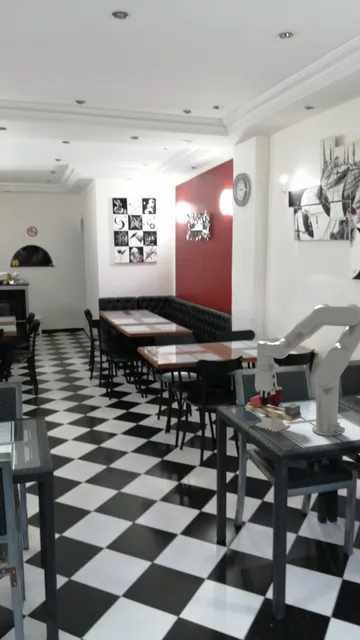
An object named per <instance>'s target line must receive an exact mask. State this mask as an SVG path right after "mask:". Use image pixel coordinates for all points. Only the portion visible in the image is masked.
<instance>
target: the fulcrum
mask: <svg viewBox="0 0 360 640" xmlns="http://www.w3.org/2000/svg"><path fill="white" fill-rule="evenodd" d="M254 425H256V426H259V427H258V428H260V427H262V428H261V429H263V428H265V429H264V430H267V429H269V430H268V431H270V430H272V431H271V432H274V431H275V432H274V433H278V432H280V431H282V429H283V430H284V429H287V428H289V427H291V424H290V423H286V422H284V420H282V419H278V418H274V417H270V416H269V417H266V415H262V416H261V422H257V423H255V424H254ZM256 426H255V427H256ZM277 431H278V432H277Z"/></svg>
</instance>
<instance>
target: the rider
mask: <svg viewBox="0 0 360 640" xmlns="http://www.w3.org/2000/svg"><path fill="white" fill-rule="evenodd" d="M249 400H250V402H251V403H252V406H253V407H257V408H258V407H262V406H264V405H262V397H261V394H259V395H255V396H254V397H251V398H250V399H249Z"/></svg>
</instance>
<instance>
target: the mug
mask: <svg viewBox="0 0 360 640" xmlns="http://www.w3.org/2000/svg"><path fill="white" fill-rule="evenodd" d="M282 396H283V387H281V386H278V385H277V390H275V394H273V395H270V397H269V404H268V405H271V406H275V407H279V405H280V404H281V401H282V398H283V397H282Z"/></svg>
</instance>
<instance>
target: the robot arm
mask: <svg viewBox="0 0 360 640" xmlns="http://www.w3.org/2000/svg"><path fill="white" fill-rule="evenodd" d="M325 326H329V327H344V328H343V331H342V332H341V334H340V335H339V338H338V339H337V340H336V342H335V344H333V345H332V346H331V348H329V350H328V352H327V353H326V355H325V357H324V358H323V360H322V361H321V362H320V364H319V365H318V368H317V369H316V371H315V373H314V375H313V381H314V383H315V385H316V395H315V396H316V398H315V399H316V400H315V401H316V402H315V425H314V426H312V429H311V430H312V432H313V433H314V434H316V435H320V436H325V437H327V436H328V437H331V436H332V437H333V436H338V435H340V434H341V433H343V434H345V432H346V427H345V426H341V424H340V423H341V422H339V421H338V420H339V413H338V412H339V390H340V389H339V388H340V387H339V386H340V385H339V384H340V377H341V376H342V374H343V373H344V370H346V368H347V367H348V365H349V364H350V361H351V359H352V356H353V355H354V353H355V351H356V349H357V348H358V346H359V344H360V306H359V305H357V304H354V303H350V304H347V305H345V306H336V305H335V306H332V305H329V304H328V303H321V304H320V303H319V305H317V306H315V307H314V308H313V309H312V310H311V311H310V312H309V313H308V314H306V315H305V317H303V318H302V319H301V320H300V321H298V322H297V323H296V325H295V326H294V327H293V328H292V329H291V330H290V331H288V333H287V334H286V335H285V336H284V337H282V338H281V339H280V340H278V341H276V342H272V341H270V340H259V341H258V342H257V344H256V349H257V350H256V367H257V368H256V370H255V374H254V375H255V376H254V388H255V391H256V392H257V393H259V395H261V397H262V405H264V406H266V405H270V404H269V397H270V395H273V394H275V390H277V386H278V384H277V383H278V382H277V375H276V370H275V368H276V366H275V365H274V359H280V360H281V359H284V358H286V357H287V356H288V355H289V354H290V353H291V352H292V351H294V350H295V349H296V348H298V347H299V346H300V345H301V344H303V342H304V341H307V340H308V339H310V338H311V337H313V336H314V335H315V334H316V333H317V332H319V331H320V330H322V328H323V327H325Z"/></svg>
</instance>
